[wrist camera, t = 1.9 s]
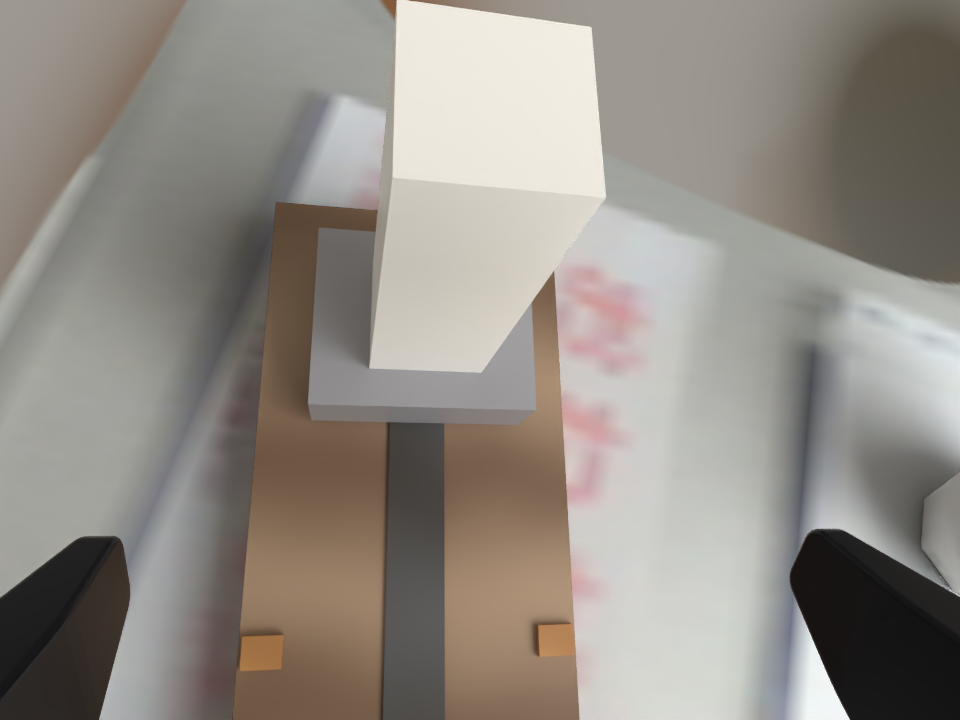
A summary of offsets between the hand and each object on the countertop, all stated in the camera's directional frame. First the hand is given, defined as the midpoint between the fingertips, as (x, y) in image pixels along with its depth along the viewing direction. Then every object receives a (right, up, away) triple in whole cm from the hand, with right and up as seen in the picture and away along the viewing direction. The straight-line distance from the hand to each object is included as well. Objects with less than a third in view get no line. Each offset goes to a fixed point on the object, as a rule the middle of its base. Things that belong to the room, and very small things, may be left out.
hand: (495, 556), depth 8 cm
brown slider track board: (-2, -2, +12) cm, 12 cm away
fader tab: (-2, +3, +11) cm, 12 cm away
